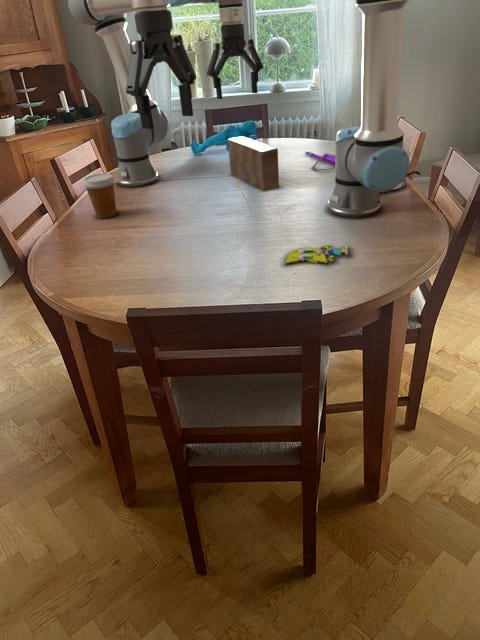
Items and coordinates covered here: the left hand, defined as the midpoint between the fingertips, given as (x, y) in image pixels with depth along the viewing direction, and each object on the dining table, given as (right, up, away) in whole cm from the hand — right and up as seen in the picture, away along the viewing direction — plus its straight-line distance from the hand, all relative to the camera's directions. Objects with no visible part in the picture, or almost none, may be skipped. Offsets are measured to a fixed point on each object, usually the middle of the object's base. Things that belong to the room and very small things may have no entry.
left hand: (237, 95), depth 165 cm
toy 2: (+20, -62, -47) cm, 80 cm away
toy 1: (-6, -4, +46) cm, 46 cm away
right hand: (-15, -33, -57) cm, 68 cm away
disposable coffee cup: (-42, -43, -10) cm, 61 cm away
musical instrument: (+33, -17, +20) cm, 42 cm away
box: (+6, -27, +8) cm, 29 cm away
